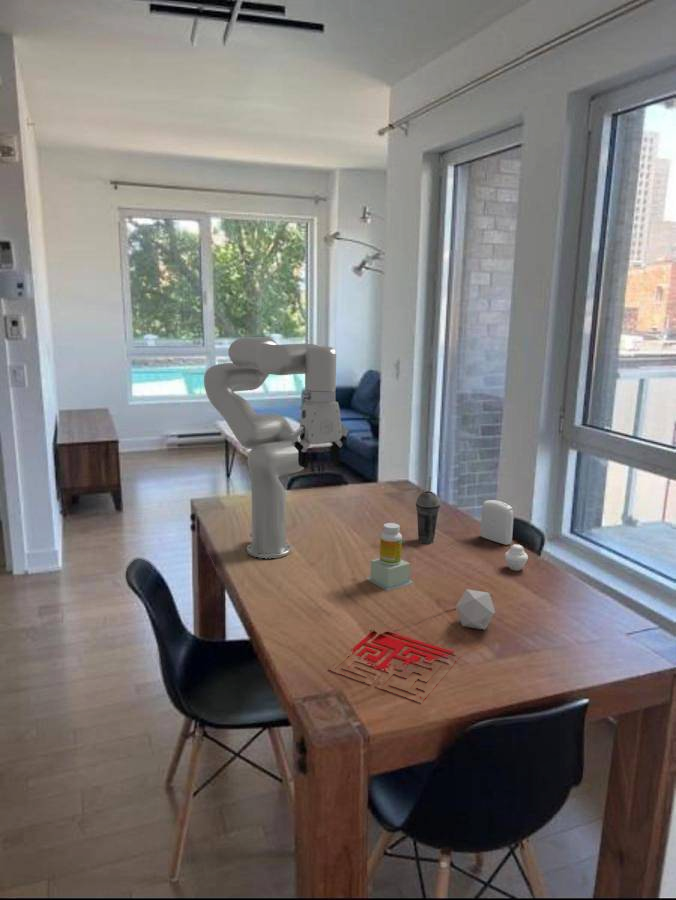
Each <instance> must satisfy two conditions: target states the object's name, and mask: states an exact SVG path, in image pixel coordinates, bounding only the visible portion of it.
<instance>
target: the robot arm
mask: <svg viewBox="0 0 676 900" xmlns="http://www.w3.org/2000/svg"><path fill="white" fill-rule="evenodd" d="M227 355H228V357H229V360H230V362H226V363H225V362H224V363H218V364H215V365H212V366H211V367H208V369H207V370H206V371H205V373H204V375H203V376H204V377H203V385H204V391H205V394H206V396H207V397H208V400H209V402H210V403H211V405H212V406H213V407H214V409H216V410H217V412H218V413H219V414H220V416H222V417H223V420H225V422H226V423H227V426H228V427H229V430H231V432H232V433H233V435H234V437H235V438H236V440H237V441H238V443H239V444H240V445H241V447H243V448H244V449H246V450H250V451H249V452H248V455H247V466H248V471H249V477H250V484H251V485H250V486H251V487H250V488H251V532H250V533H249V537H250V538H251V543H250V544H248V545H247V546H246V554H248V555H249V554H250V555H249V556H251V555H252V556H251V557H253V556H254V557H253V558H256V557H258V559H262V558H265V560H270V559H271V558H274V559H279V558H283V557H285V556H287V555H289V554H290V553H291V551H292V549H291V548H292V547H291V545H290V544H289V543H288V542H286V490H285V489H286V488H285V487H284V485H283V484H282V483H281V481H280V479H279V477H281V476H282V477H283V476H285V475H290V474H295V473H298V472H302V470H304V469H306V468H309V452H308V451H307V450H308V449H309V447H310V445H320V444H321V445H322V444H329V443H331V445H330V447H329V448H330V451H329V452H330V458H329V459H330V461H331V462H334V463H336V464H338V463H340V462H341V461H340V458H341V448H342V446H343V444H344V442H345V441H346V439H347V435H348V433H349V431H350V429H349V428H348V427H346V426H344V425H342V419H341V410H340V405H339V401H336V389H337V388H336V383H337V351H336V349H335V348H334V347H331V346H322V345H321V346H319V345H317V344H313V343H290V344H289V343H287V344H278V342H276V340H274V339H273V338H271V337H268V336H264V337H263V336H258V337H257V336H252V337H246V336H245V337H240V338H237V339H235V340H234V341H232V343H231V344H230V345H229V347H228V353H227ZM302 374H303V375H305V377H304V379H305V380H304V381H305V382H304V385H305V386H304V393H302V394H301V399H302V400H304V402H303V403H302V407H301V412H300V417H299V418H300V419H299V428H297V429H295V430H294V429H293V427H292V426H291V424H290V422H289V421H288V420H287V419H286V418H285V417H284V416H282V415H281V414H279V413H278V414H277V413H265V414H260V413H257V412H256V411H255V410H254V409H253V407H252V405H251V404H250V403H249V402H248V401H247V400H246V399H245V398H243V397H242V396H240V395H238V394H237V393H235V392H244V391H247V392H248V391H254V390H257V389H259V388H260V387H262V385H263V384H264V383H265V381H266V379H267V378H268V377H269V375H275V376H288V375H289V376H290V375H302ZM268 558H269V559H268ZM271 560H272V559H271Z"/></svg>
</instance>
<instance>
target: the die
mask: <svg viewBox="0 0 676 900" xmlns="http://www.w3.org/2000/svg"><path fill="white" fill-rule="evenodd" d="M455 609H456V612H457V615H458V618H459V620H460V624H461V626H462V627H466V628H472V629H477V630H482V629H483V630H484V631H485V630H486V629H487V627H488V625H489V623H490V622H491V620H492V618H493V616H494V615H495V613H496V610H495V607H494V603H493V601H492V598H491V594H490V592H485V591H481V590H480V591H479V590H473V589H467V588H466V589H465V591H464V592H463V594H462V595H461V597H460V599H459V601H458V602H457V604H456V606H455Z"/></svg>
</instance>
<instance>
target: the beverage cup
mask: <svg viewBox="0 0 676 900" xmlns="http://www.w3.org/2000/svg"><path fill="white" fill-rule="evenodd" d="M428 479H429V480H428V491H427V490H425V491H423V492H422V493H420V494H419V495H418V497H417V499H416V501H415V507H416V512H417V513H416V514H417V536H418V537H417V538H418V542H420V543H421V544H426V545H427V544H428V545H429V544H432V543H434V542H435V541H434V539H435V535H436V528H437V521H438V513H439V511H440V507H441V504H440V498H439V496H437V494H436V493H435V492H433V491H431V482H432V476H429V478H428Z"/></svg>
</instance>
